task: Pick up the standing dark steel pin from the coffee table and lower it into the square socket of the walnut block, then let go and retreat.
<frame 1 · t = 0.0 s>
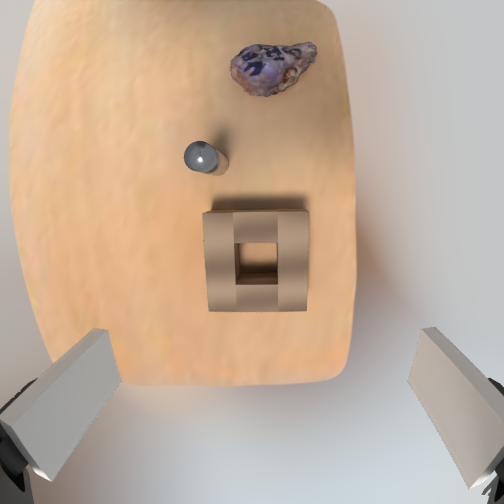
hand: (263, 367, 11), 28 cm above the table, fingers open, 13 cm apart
pin: (217, 164, 36), on the table
purple lumpy piece: (276, 71, 33), on the table
socket block: (258, 254, 38), on the table
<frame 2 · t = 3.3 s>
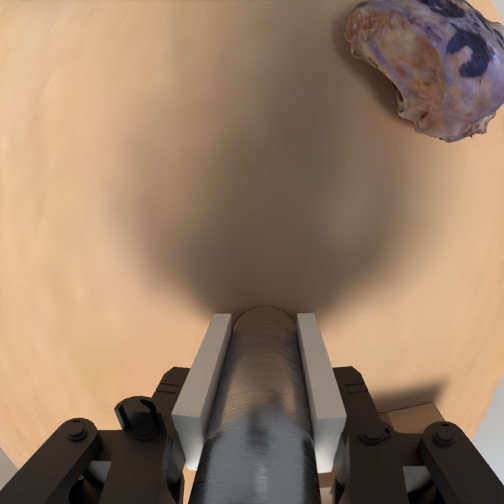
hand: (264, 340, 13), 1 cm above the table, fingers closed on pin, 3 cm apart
pin: (264, 335, 13), on the table, touching gripper
purple lumpy piece: (436, 70, 10), on the table
socket block: (333, 470, 15), on the table
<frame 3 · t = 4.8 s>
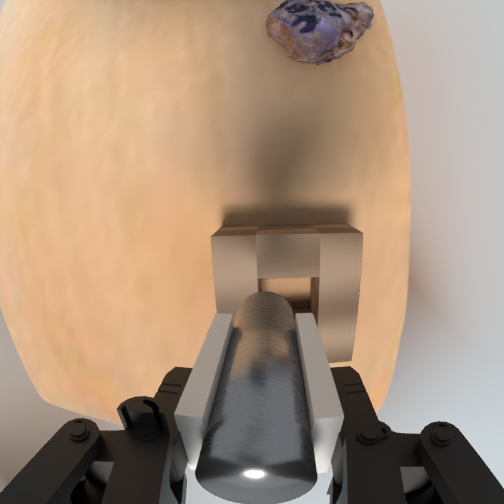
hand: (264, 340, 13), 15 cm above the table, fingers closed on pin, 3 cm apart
pin: (264, 318, 15), point 13 cm above the table, touching gripper
purple lumpy piece: (323, 36, 22), on the table
socket block: (285, 285, 28), on the table
when the fingers open (5 cm above the table, at t = 6.6 s): pin drops 2 cm, resting in socket block.
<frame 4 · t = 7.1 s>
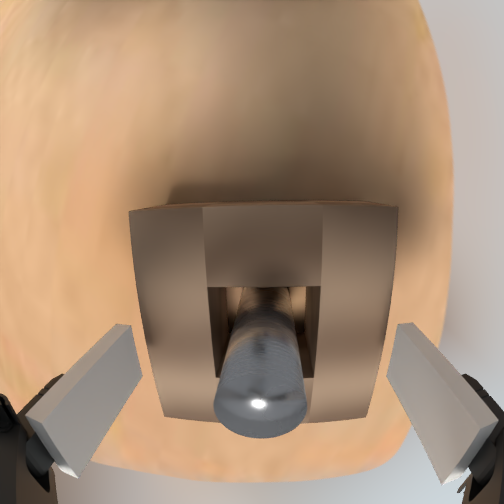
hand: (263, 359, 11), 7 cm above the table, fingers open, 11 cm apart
pin: (265, 298, 18), resting in socket block
socket block: (265, 298, 18), on the table
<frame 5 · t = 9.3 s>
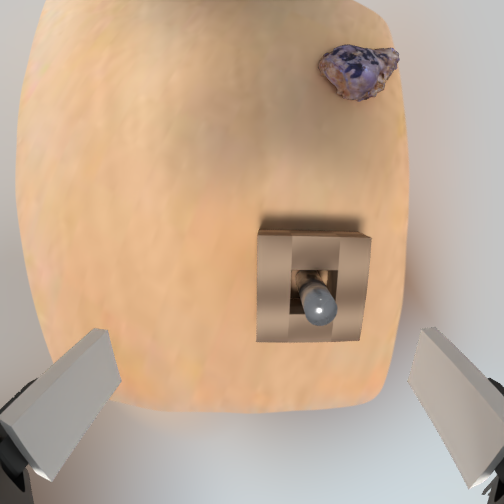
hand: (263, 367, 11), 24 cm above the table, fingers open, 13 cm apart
pin: (307, 279, 35), resting in socket block
purple lumpy piece: (359, 75, 30), on the table
socket block: (307, 279, 35), on the table
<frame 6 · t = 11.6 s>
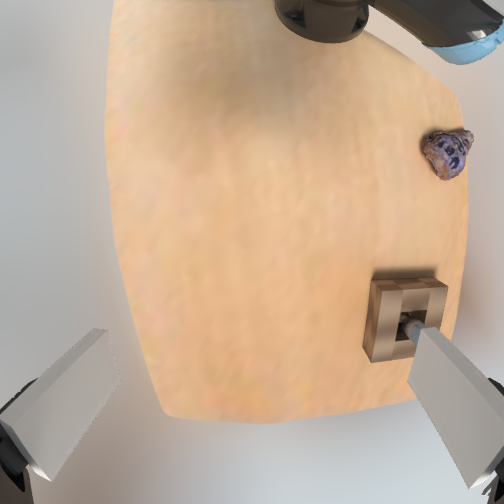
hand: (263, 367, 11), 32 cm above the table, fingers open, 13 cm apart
pin: (399, 313, 43), resting in socket block
purple lumpy piece: (445, 152, 37), on the table
socket block: (399, 313, 43), on the table
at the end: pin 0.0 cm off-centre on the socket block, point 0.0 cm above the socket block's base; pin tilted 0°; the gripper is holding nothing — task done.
